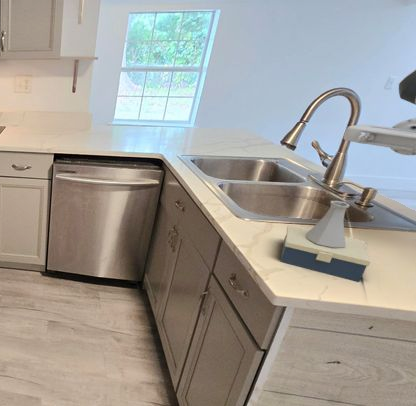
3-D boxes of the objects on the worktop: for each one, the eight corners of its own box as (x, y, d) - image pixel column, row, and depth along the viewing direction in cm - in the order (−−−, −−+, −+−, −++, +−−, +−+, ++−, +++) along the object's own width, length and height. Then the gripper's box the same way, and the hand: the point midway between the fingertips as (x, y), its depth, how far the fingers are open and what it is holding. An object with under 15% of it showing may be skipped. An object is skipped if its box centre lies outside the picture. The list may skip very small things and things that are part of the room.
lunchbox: (355, 260, 90) (364, 240, 88) (360, 283, 81) (370, 262, 79) (281, 242, 98) (288, 224, 96) (279, 262, 90) (286, 242, 88)
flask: (313, 246, 86) (328, 207, 82) (299, 232, 92) (313, 196, 88) (352, 250, 83) (369, 211, 80) (335, 236, 90) (350, 198, 86)
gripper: (363, 117, 96) (336, 122, 91) (487, 131, 79) (462, 139, 74) (354, 140, 98) (327, 147, 93) (473, 159, 81) (447, 168, 76)
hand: (388, 144), depth 83 cm, fingers open, 8 cm apart
